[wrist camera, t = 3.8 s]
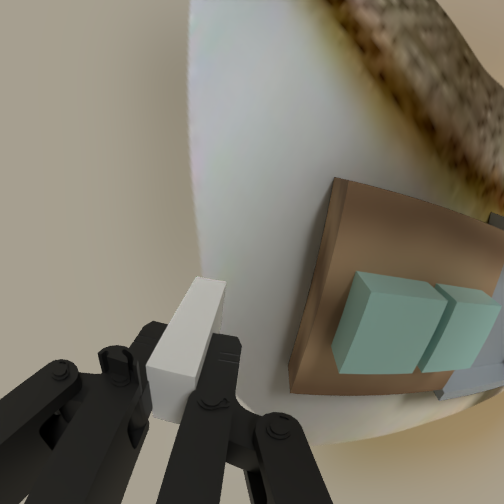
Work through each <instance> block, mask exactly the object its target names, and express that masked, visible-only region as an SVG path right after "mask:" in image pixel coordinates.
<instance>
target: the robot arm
mask: <svg viewBox="0 0 504 504" xmlns="http://www.w3.org/2000/svg"><path fill="white" fill-rule="evenodd" d="M225 289H226V281H220V280H214V279H209V278H203V277H197V276H196V278H195V279H194V281H193V283H192V285H191V286H190V288H189V290H188V292H187V293H186V295H185V296H184V298H183V300H182V302H181V303H180V305H179V307H178V308H177V310H176V312H175V314H174V315H173V317H172V319H171V321H170V322H169V324H164V323H160V322H155V321H152V322H150V323H149V324H147V325H145V326H144V327H143V328H142V330H141V331H140V333H139V334H138V336H137V337H136V339H135V340H134V342H133V343H132V344H131V346H130V347H129V348H127V347H125V346H119V345H116V346H109V347H106V348H103V349H102V350H101V351H100V352H98V357H99V361H100V365H101V369H102V374H90V373H81V372H78V369H77V366H76V365H75V364H74V363H72V362H70V361H68V360H63V359H60V360H55V361H52V362H51V363H49V364H47V365H46V366H44V367H43V368H42V369H40V370H39V371H38V372H36V373H35V374H34V375H32V376H31V377H30V378H28V379H27V380H25V381H24V382H23V383H22V384H20V385H19V386H17V387H16V388H15V389H14V390H12V391H11V392H10V393H8V394H7V395H6V396H4V397H3V398H2V399H1V400H0V504H19V503H20V502H21V501H22V500H23V499H24V498H25V497H26V496H27V495H28V494H29V495H28V497H27V499H26V501H25V503H24V504H121V502H122V499H123V496H124V493H125V491H126V488H127V485H128V482H129V479H130V477H131V474H132V471H133V469H134V466H135V463H136V461H137V458H138V455H139V453H140V450H141V447H142V445H143V442H144V440H145V437H146V435H147V432H148V430H149V421H148V418H149V416H150V413H151V411H152V412H153V417H154V418H158V419H161V420H165V421H169V422H173V423H177V424H180V426H179V429H178V432H177V436H176V439H175V442H174V446H173V449H172V452H171V455H170V458H169V462H168V465H167V468H166V472H165V475H164V478H163V482H162V485H161V489H160V492H159V495H158V499H157V502H156V504H219V502H220V496H221V489H222V482H223V476H224V469H225V462H227V463H229V464H231V465H234V466H236V467H239V468H241V469H243V471H244V475H245V480H246V484H247V489H248V493H249V497H250V502H251V504H333V502H332V500H331V498H330V495H329V493H328V490H327V488H326V486H325V483H324V481H323V478H322V476H321V473H320V471H319V469H318V466H317V464H316V461H315V459H314V457H313V454H312V452H311V449H310V446H309V444H308V442H307V439H306V437H305V434H304V432H303V429H302V427H301V425H300V424H299V422H298V421H297V420H296V419H295V418H293V417H292V416H291V415H288V414H285V413H279V412H272V413H268V414H265V415H263V416H259V415H257V414H254V413H252V412H250V411H248V410H246V409H245V408H243V407H242V406H241V405H240V404H239V402H238V401H237V399H236V396H235V390H236V383H237V376H238V369H239V362H240V354H241V347H242V345H241V343H240V341H239V339H238V337H235V336H229V335H223V334H219V333H220V329H221V322H222V314H223V306H224V297H225Z"/></svg>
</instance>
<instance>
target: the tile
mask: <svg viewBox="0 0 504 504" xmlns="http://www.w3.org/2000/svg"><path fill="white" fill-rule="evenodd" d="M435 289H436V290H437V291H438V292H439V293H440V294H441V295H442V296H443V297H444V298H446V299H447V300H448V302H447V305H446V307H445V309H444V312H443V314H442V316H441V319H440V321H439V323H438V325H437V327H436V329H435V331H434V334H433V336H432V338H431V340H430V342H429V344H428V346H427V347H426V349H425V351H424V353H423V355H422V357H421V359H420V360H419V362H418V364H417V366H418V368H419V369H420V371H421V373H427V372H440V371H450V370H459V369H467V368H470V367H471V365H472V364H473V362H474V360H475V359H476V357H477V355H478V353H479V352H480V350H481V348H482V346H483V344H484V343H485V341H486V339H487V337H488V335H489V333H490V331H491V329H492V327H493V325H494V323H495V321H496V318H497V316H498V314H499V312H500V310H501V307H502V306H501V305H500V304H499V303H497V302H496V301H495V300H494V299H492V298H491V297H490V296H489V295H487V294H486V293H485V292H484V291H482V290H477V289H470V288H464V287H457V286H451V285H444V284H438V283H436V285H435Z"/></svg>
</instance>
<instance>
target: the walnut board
mask: <svg viewBox="0 0 504 504" xmlns="http://www.w3.org/2000/svg"><path fill="white" fill-rule="evenodd" d="M503 265H504V230H501V229H499V228H496V227H494V226H492V225H489V224H487V223H484V222H482V221H479V220H477V219H474V218H472V217H469V216H466V215H463V214H461V213H458V212H455V211H452V210H450V209H447V208H444V207H441V206H438V205H435V204H432V203H429V202H426V201H422V200H419V199H416V198H413V197H409V196H406V195H403V194H399V193H396V192H392V191H388V190H385V189H381V188H377V187H374V186H370V185H366V184H362V183H358V182H353V181H349V180H345V179H341V178H336V177H334V182H333V187H332V193H331V198H330V203H329V208H328V213H327V218H326V222H325V227H324V232H323V236H322V241H321V245H320V250H319V254H318V258H317V262H316V267H315V271H314V275H313V279H312V283H311V287H310V290H309V294H308V298H307V302H306V306H305V309H304V313H303V317H302V320H301V324H300V327H299V331H298V334H297V338H296V341H295V344H294V348H293V351H292V354H291V358H290V361H289V364H288V371H289V384H290V393H295V394H310V395H339V396H361V395H389V394H404V393H415V392H425V391H433V390H440V389H443V388H444V386H445V385H446V383H447V382H448V380H449V379H450V377H451V375H452V374H453V372H454V371H455V370H450V371H440V372H427V373H421V371H420V369H419V368H418V366H416V368H415V369H414V371H413V373H409V374H339V372H338V369H337V365H336V362H335V358H334V355H333V352H332V348H331V344H332V342H333V339H334V336H335V334H336V331H337V328H338V325H339V322H340V319H341V316H342V314H343V311H344V308H345V305H346V301H347V298H348V295H349V292H350V289H351V286H352V282H353V279H354V276H355V272H356V271H360V272H367V273H373V274H379V275H386V276H392V277H399V278H405V279H412V280H418V281H425V282H428V283H429V284H430V285H431V286H432V287H433V288H435V285H436V283H438V284H444V285H451V286H457V287H464V288H470V289H477V290H482V291H484V292H485V293H486V294H487V295H489V296H490V297H491V298H492V295H493V293H494V290H495V288H496V285H497V282H498V279H499V277H500V274H501V271H502V268H503Z"/></svg>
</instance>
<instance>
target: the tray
mask: <svg viewBox="0 0 504 504" xmlns="http://www.w3.org/2000/svg"><path fill="white" fill-rule="evenodd" d="M488 224H489V225H492V226H494V227H496V228H499V229H501V230H504V217H503V216H500V215H498V214H495V213H492V212H491V215H490V219H489V223H488ZM492 299H494V300H495V301H496V302H497V303H499V304H500V305H501V306H502V307H501V310H500V312H499V314H498V316H497V318H496V321H495V323H494V325H493V327H492V329H491V331H490V333H489V335H488V337H487V339H486V341H485V343H484V344H483V346H482V348H481V350H480V352H479V353H478V355H477V357H476V359H475V360H474V362H473V364H472V365H471V367H470V368H467V369H459V370H455V371H454V372H453V374H452V375H451V377H450V379H449V380H448V382H447V383H446V385H445V386H444V388H443V389H440V390H433V391H434V393H435V395H436V396H437V398H438V400H439V401H441V400H446V399H452V398H457V397H461V396H466V395H471V394H475V393H479V392H483V391H487V390H490V389H494V388H497V387H501V386H504V265H503V268H502V271H501V274H500V277H499V279H498V282H497V285H496V288H495V290H494V293H493V295H492Z"/></svg>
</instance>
